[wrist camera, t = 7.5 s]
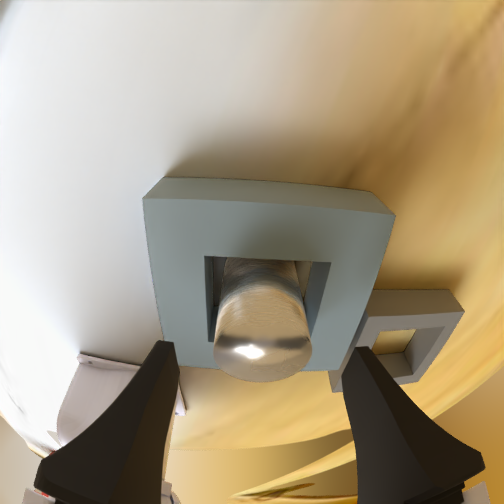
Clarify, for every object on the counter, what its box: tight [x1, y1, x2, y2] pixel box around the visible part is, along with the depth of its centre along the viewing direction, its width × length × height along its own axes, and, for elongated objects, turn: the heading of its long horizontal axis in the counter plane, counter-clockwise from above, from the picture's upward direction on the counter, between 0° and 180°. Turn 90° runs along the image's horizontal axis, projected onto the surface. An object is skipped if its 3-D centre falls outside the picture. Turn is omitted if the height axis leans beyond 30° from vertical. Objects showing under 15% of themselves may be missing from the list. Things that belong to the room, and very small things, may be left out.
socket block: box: [142, 177, 396, 371], centre depth 15 cm, size 10×10×3 cm
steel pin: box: [213, 257, 312, 382], centre depth 14 cm, size 4×4×6 cm
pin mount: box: [328, 289, 465, 393], centre depth 18 cm, size 8×8×2 cm
